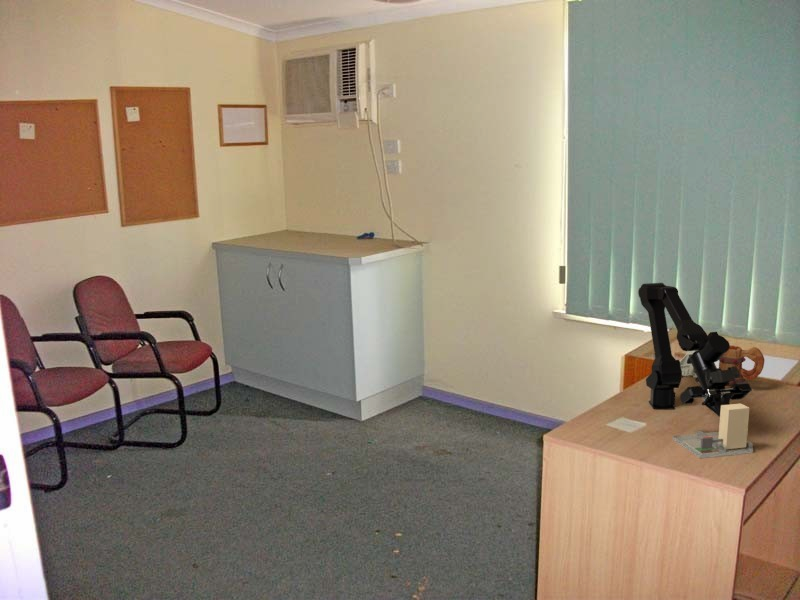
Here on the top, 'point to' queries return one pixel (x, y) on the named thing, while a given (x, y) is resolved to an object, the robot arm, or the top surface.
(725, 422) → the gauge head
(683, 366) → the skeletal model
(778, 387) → the top surface
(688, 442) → the gauge frame
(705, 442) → the drag pointer
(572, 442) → the top surface
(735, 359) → the mug
